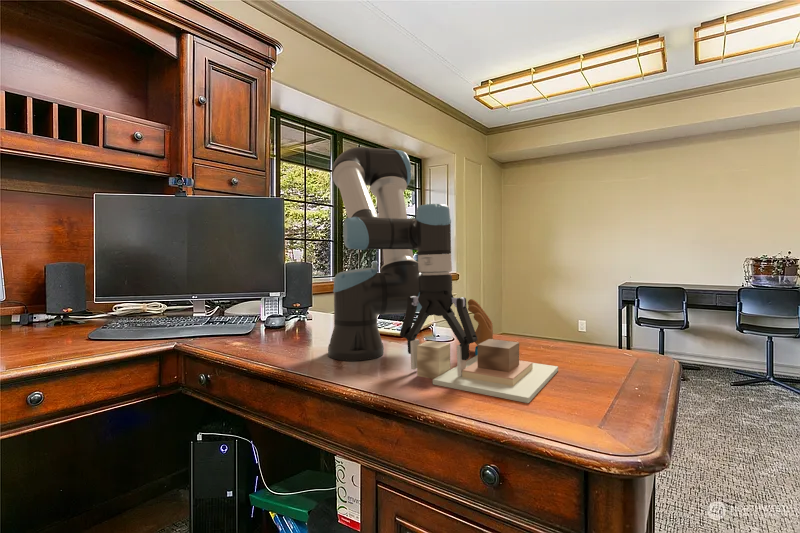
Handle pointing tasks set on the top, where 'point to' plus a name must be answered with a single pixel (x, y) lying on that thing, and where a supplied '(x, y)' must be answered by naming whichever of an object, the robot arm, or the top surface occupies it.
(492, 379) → the board
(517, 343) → the walnut block
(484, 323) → the toy
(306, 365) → the top surface
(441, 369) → the maple block
